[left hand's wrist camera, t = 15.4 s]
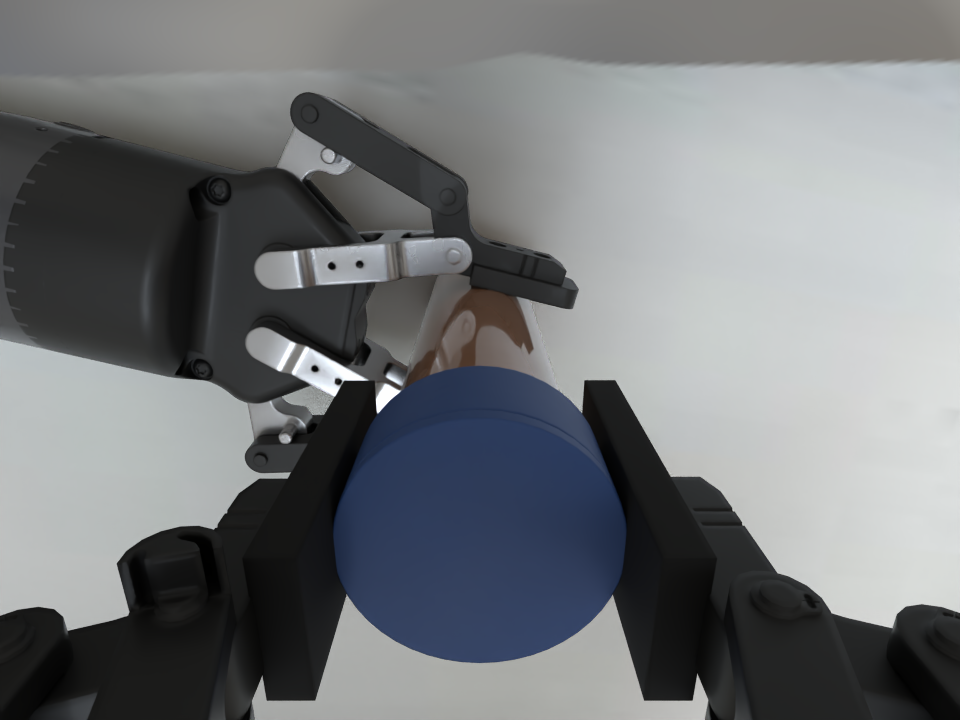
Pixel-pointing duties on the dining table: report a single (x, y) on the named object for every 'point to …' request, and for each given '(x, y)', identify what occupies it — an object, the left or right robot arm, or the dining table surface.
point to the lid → (479, 518)
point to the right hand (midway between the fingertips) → (550, 357)
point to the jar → (477, 333)
